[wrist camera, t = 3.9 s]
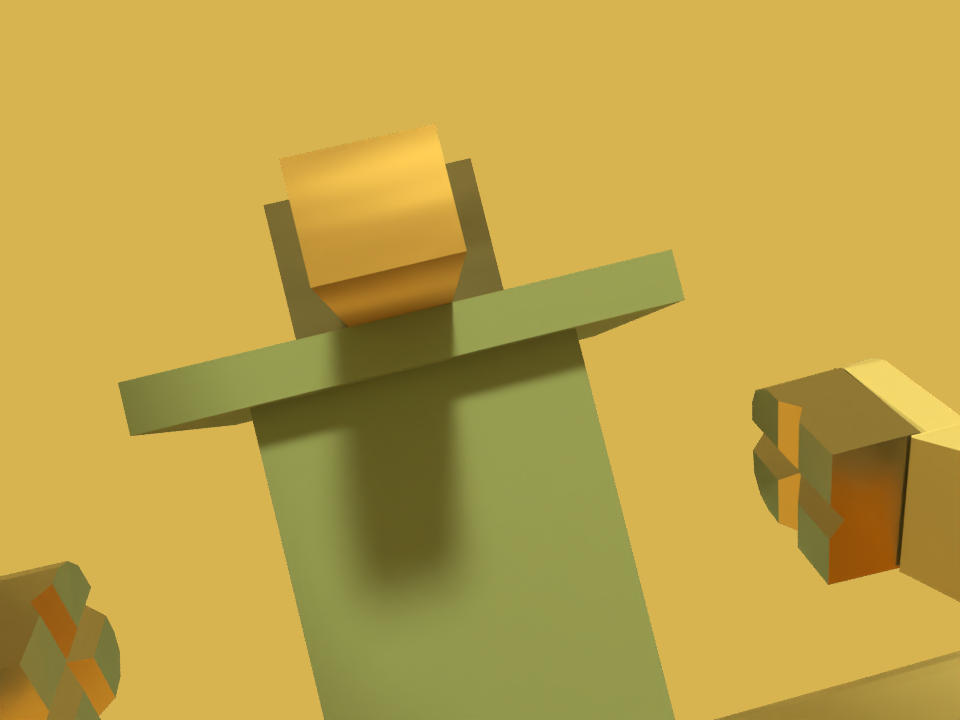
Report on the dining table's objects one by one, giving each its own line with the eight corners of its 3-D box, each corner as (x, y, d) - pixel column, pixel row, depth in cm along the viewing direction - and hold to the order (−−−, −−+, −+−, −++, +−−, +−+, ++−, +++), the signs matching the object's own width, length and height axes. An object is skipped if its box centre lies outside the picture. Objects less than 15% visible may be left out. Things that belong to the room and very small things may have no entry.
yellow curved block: (321, 362, 33) (292, 240, 34) (491, 320, 34) (461, 201, 34) (203, 313, 16) (141, 53, 16) (568, 227, 16) (504, -23, 16)
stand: (373, 979, 36) (232, 391, 37) (725, 872, 37) (581, 305, 38) (337, 1383, 21) (104, 382, 22) (926, 1183, 22) (682, 243, 23)
